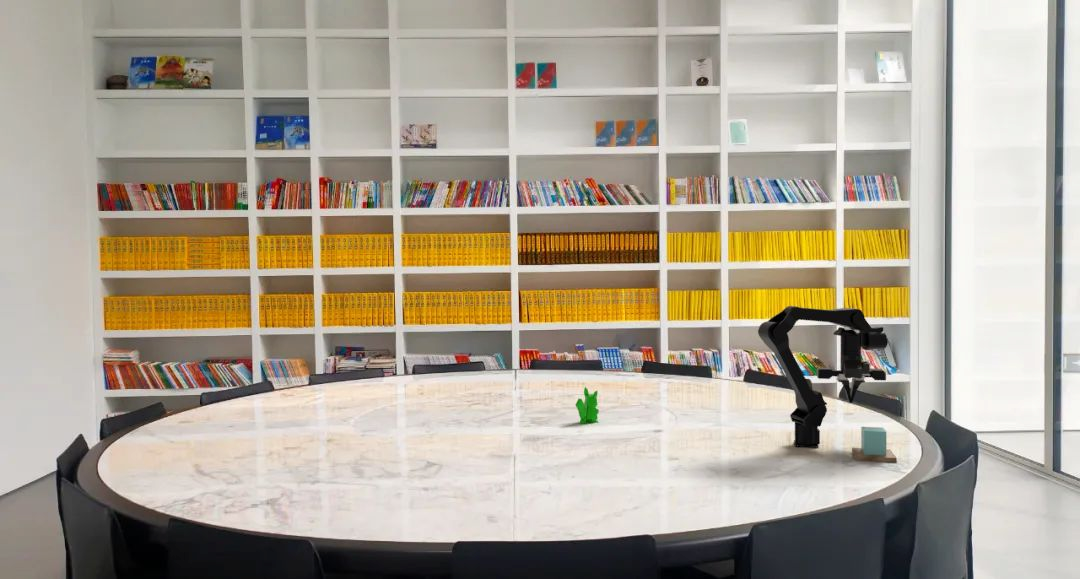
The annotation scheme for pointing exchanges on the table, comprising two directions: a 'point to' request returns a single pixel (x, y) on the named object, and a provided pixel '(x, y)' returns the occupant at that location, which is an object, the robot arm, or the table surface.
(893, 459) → the post board
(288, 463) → the table surface
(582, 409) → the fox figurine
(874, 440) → the teal block
